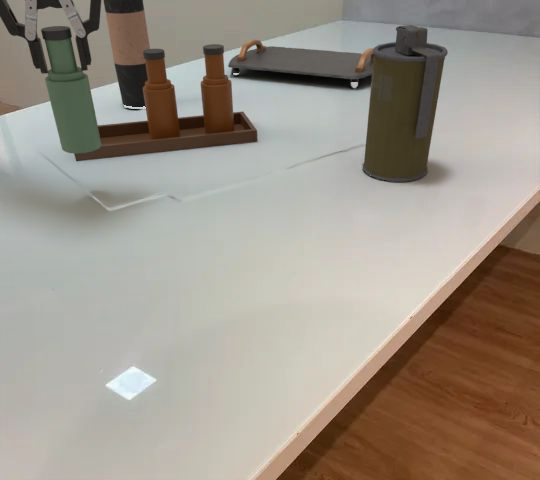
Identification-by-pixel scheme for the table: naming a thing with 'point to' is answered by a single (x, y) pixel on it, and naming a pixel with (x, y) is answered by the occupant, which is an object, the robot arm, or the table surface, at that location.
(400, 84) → the canister
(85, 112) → the green bottle
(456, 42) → the table surface
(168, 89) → the amber bottle mid
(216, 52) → the amber bottle far
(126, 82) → the travel mug
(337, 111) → the table surface
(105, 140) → the row tray
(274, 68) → the serving tray
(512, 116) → the table surface
